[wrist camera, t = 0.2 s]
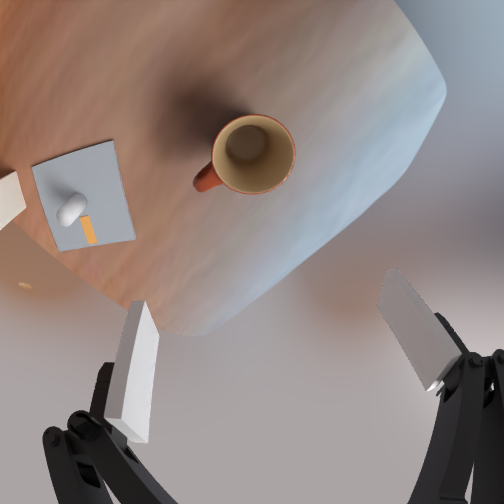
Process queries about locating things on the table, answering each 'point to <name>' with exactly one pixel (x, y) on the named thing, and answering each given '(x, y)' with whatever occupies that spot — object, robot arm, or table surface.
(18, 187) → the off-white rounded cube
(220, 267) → the table surface
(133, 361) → the robot arm
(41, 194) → the post base
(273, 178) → the mug
